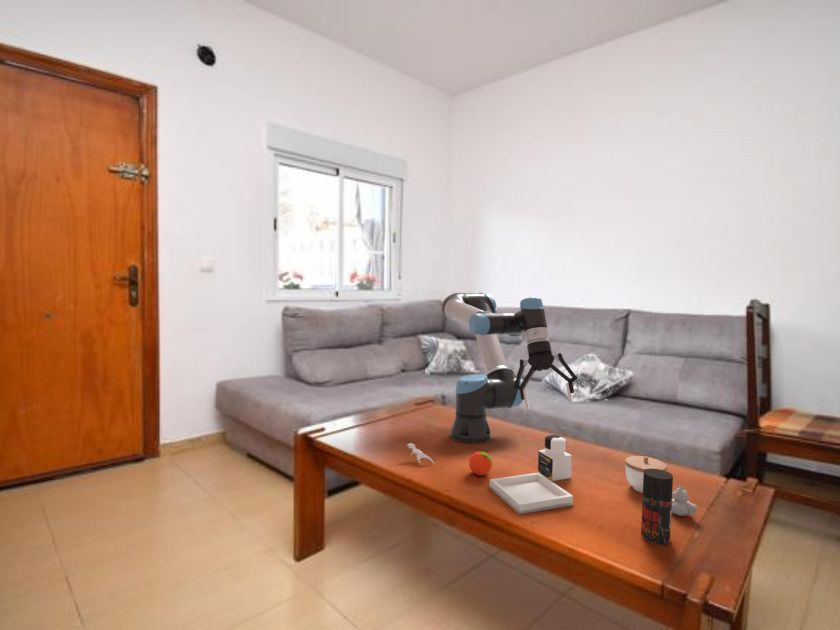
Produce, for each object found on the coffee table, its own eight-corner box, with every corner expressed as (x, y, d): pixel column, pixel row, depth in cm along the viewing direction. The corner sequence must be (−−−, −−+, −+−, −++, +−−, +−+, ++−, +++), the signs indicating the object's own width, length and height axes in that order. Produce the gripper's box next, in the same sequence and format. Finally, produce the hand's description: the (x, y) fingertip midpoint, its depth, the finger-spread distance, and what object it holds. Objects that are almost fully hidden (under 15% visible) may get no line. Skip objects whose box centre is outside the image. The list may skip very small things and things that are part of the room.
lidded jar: (649, 480, 138) (650, 449, 137) (674, 496, 127) (676, 463, 126) (616, 482, 136) (617, 451, 135) (639, 499, 125) (641, 465, 125)
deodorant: (638, 529, 109) (641, 467, 108) (666, 533, 108) (669, 470, 107) (643, 542, 104) (646, 476, 103) (672, 546, 102) (675, 480, 101)
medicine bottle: (537, 472, 142) (538, 434, 142) (556, 469, 145) (557, 432, 144) (551, 481, 136) (552, 441, 135) (571, 478, 138) (572, 439, 137)
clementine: (499, 475, 140) (499, 452, 139) (485, 482, 135) (485, 458, 134) (478, 468, 145) (478, 445, 145) (464, 474, 140) (464, 451, 140)
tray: (489, 487, 131) (489, 479, 131) (538, 480, 136) (538, 472, 136) (519, 514, 116) (519, 504, 116) (572, 505, 121) (573, 495, 121)
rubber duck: (673, 507, 120) (675, 477, 120) (701, 517, 115) (702, 486, 115) (663, 513, 117) (665, 482, 117) (691, 524, 112) (692, 492, 111)
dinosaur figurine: (447, 472, 149) (450, 452, 149) (422, 478, 140) (425, 458, 140) (413, 455, 159) (417, 437, 159) (388, 460, 150) (391, 441, 150)
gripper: (498, 347, 155) (508, 411, 148) (575, 333, 146) (589, 401, 140) (503, 350, 161) (513, 412, 155) (577, 338, 153) (590, 402, 146)
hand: (549, 407), depth 147 cm, fingers open, 13 cm apart
